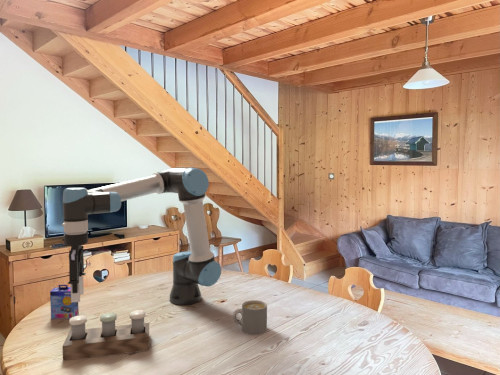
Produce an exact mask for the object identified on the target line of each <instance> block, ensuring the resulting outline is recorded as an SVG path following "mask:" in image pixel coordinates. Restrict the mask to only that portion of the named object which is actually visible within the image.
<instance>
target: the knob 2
mask: <svg viewBox="0 0 500 375" xmlns="http://www.w3.org/2000/svg"><path fill="white" fill-rule="evenodd" d="M146 313H147V311H145V310H142V309H136V310H132V311H131V312H130V313H129V319H131V324H132V334H139V333H143V332H144V323H145V318H146Z"/></svg>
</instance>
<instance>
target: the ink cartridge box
mask: <svg viewBox="0 0 500 375" xmlns="http://www.w3.org/2000/svg"><path fill="white" fill-rule="evenodd" d="M49 296H50V298H49V299H50V320H57V319H58V320H61V319H63V320H66V319H69V320H70V318H72V317H75V316H79V314H80V313H79V312H80V308H79V302H71V286H68V284H58V286H57V287H54V288H52V289H51V290H50V291H49Z"/></svg>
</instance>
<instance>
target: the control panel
mask: <svg viewBox="0 0 500 375" xmlns="http://www.w3.org/2000/svg"><path fill="white" fill-rule="evenodd" d="M61 348H62V361H71V360H80V359H88V358H94V357H95V358H96V357H103V356H105V357H106V356H113V355H120V354H131V353H137V352H138V353H139V352H146V351H148V352H149V351H150V322H144V332H143V333H139V334H132V323H131V324H124V325H123V324H121V325H115V335H114V336H111V337H102V326H101V327H92V328H85V339H83V340H72V329H71V330H69V331H68V334H66V337H65V339H64V342H63V344H62V347H61Z"/></svg>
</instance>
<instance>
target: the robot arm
mask: <svg viewBox="0 0 500 375" xmlns="http://www.w3.org/2000/svg"><path fill="white" fill-rule="evenodd" d="M209 186H210V182H209V177H208V175H207V174H206V172H205V171H203V170H202V169H201V168H196V167H192V166H191V167H179V166H178V167H172V168H168V169H165V170H160V171H156V172H154V173H152V175H151V176H145V177H141V178H135V179H131V180H128V181H127V180H126V181H123V182H118V183H113V184H109V185H105V186H101V187H96V188H91V189H87V188H86V187H67V188H65V189H63V193H62V194H63V195H62V208H63V209H62V210H63V211H62V212H63V223H62V224H61V227H63V232H64V234H63V243H64V245H65V246H70V250H69V252H68V261H69V263H68V264H69V265H68V268H69V269H68V270H69V271H68V272H69V273H68V275H69V276H68V277H69V281H68V282H67V285H70V287H71V302H78V303H79V302H81V295H83V296H84V292H85V290H84V289H85V288H84V276H86V272H85V265H84V264H85V262H84V260H85V259H84V257H85V256H84V248H85V247H84V245H86V244H89V233H88V231H89V223H88V221H89V218H88V216H89V215H94V214H95V215H96V214H105V213H106V214H108V213H110V214H111V213H115V212H118V211H119V210H120V209H121V207H122V202H125V201H127V200H128V201H129V200H132V199H136V198H139V197H143V196H148V195H151V194H155V193H156V194H157V195H161V194H168V193H169V194H170V193H172V194H177V195H178V201H179V202H180V203H182V204H183V211H184V217H185V223H186V224H185V225H186V230H187V236H188V237H187V238H188V241H189V242H188V243H189V247H190V250H188V251H180V252H176V253H175V254H173V257H172V287H171V290H170V292H169V302H170V303H172V304H175V305H178V306H179V305H180V306H183V305H184V306H185V305H187V306H188V305H193V304H196V303H198V302H200V301H201V300H202V292H201V290H200V289H201V288H200V286H201V287H202V286H203V287H206V288H207V287H211V286H214V285H216V283H217V282H218V281H219V278H220V277H221V275H222V265H221V264H220V263H219V262H218V261H216V259H215V253H214V252H213V251H211V248H210V247H211V246H210V243H209V242H210V240H209V235H208V233H209V232H208V227H207V221H206V216H205V207H204V199H205V197H206V193H207V192H208V188H209Z"/></svg>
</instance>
